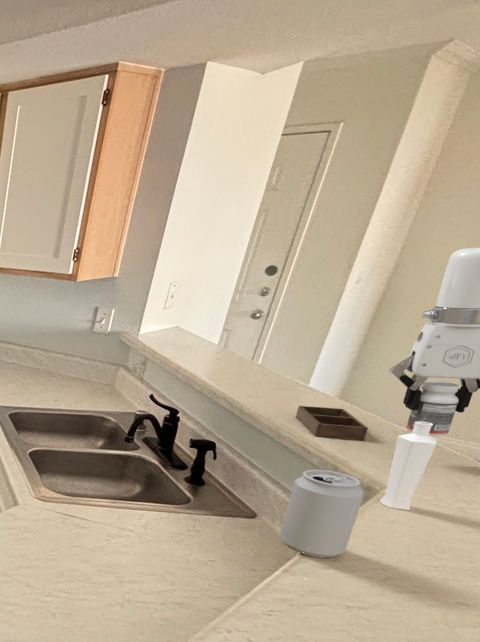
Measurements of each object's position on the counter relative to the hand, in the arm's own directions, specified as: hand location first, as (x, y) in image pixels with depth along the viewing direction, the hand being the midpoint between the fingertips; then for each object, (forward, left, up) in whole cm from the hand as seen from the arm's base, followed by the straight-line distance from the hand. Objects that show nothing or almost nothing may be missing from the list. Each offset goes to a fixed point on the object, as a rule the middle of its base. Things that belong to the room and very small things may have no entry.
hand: (433, 408), depth 115 cm
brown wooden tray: (+9, -20, -11) cm, 25 cm away
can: (+28, +51, -11) cm, 59 cm away
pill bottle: (0, 0, -5) cm, 5 cm away
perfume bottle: (+11, +27, -11) cm, 31 cm away
